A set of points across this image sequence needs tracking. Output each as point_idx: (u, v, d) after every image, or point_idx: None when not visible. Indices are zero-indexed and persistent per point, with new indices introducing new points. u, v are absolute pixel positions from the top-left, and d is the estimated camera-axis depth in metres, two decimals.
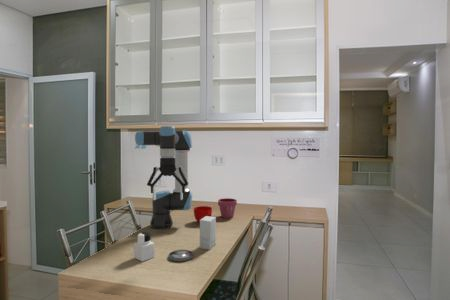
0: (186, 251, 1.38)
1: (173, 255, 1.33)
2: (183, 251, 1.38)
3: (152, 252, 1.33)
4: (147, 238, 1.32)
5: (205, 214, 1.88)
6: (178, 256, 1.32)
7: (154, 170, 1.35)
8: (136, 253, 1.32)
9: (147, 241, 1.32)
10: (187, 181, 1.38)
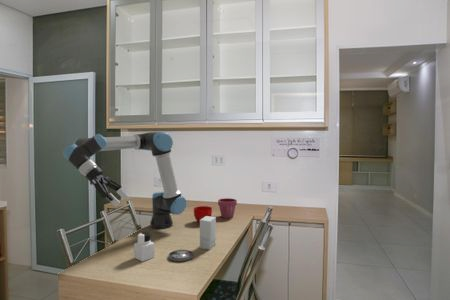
0: (186, 251, 1.38)
1: (173, 255, 1.33)
2: (183, 251, 1.38)
3: (152, 252, 1.33)
4: (147, 238, 1.32)
5: (205, 214, 1.88)
6: (178, 256, 1.32)
7: None
8: (136, 253, 1.32)
9: (147, 241, 1.32)
10: (103, 190, 1.23)
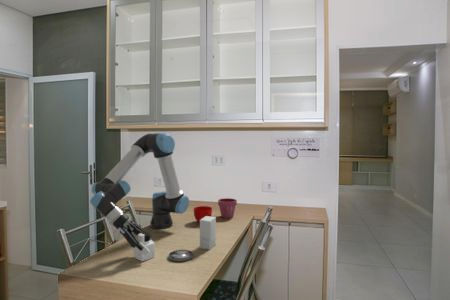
0: (186, 251, 1.38)
1: (173, 255, 1.33)
2: (183, 251, 1.38)
3: (151, 252, 1.33)
4: (147, 238, 1.32)
5: (205, 214, 1.88)
6: (178, 256, 1.32)
7: None
8: (136, 253, 1.32)
9: (147, 241, 1.32)
10: (134, 241, 1.25)
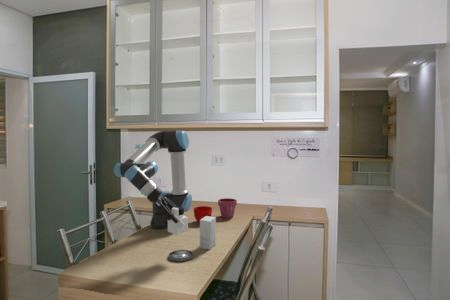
0: (186, 251, 1.38)
1: (173, 255, 1.33)
2: (183, 251, 1.38)
3: (185, 226, 1.33)
4: (181, 212, 1.31)
5: (205, 214, 1.88)
6: (178, 256, 1.32)
7: None
8: (170, 227, 1.32)
9: (181, 215, 1.32)
10: (169, 213, 1.25)
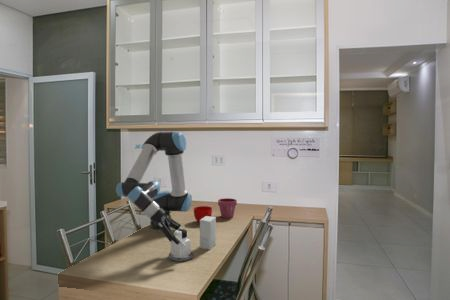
0: None
1: (173, 255, 1.33)
2: None
3: (188, 249, 1.34)
4: (184, 235, 1.32)
5: (205, 214, 1.88)
6: None
7: None
8: (174, 250, 1.33)
9: (184, 238, 1.33)
10: (171, 235, 1.25)
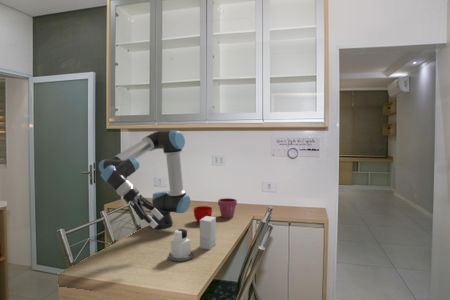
0: None
1: (173, 255, 1.33)
2: None
3: (188, 249, 1.34)
4: (184, 235, 1.32)
5: (205, 214, 1.88)
6: None
7: None
8: (174, 250, 1.33)
9: (184, 238, 1.33)
10: (142, 213, 1.24)
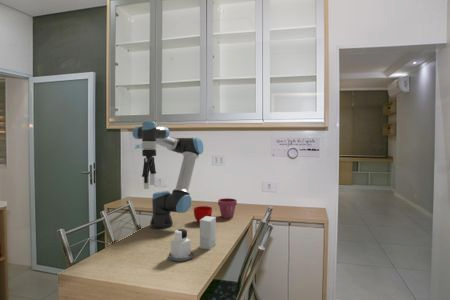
0: None
1: (173, 255, 1.33)
2: None
3: (188, 249, 1.34)
4: (184, 235, 1.32)
5: (205, 214, 1.88)
6: None
7: None
8: (174, 250, 1.33)
9: (184, 238, 1.33)
10: (146, 173, 1.43)
